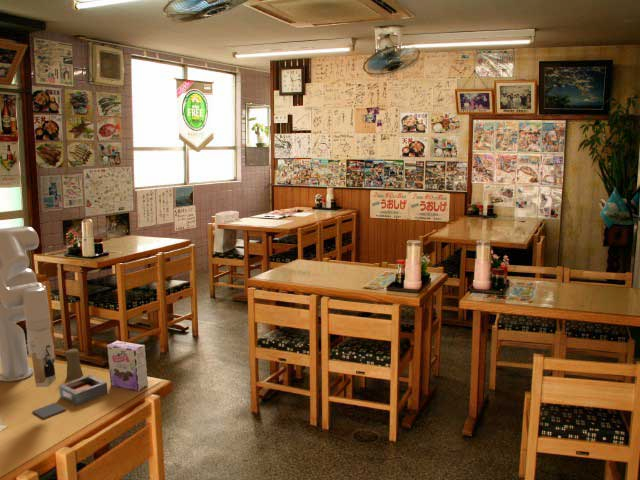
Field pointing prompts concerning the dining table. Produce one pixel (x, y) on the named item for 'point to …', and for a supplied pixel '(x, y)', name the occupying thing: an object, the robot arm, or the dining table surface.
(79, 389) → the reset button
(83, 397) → the box
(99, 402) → the dining table surface
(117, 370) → the candy box
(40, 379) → the skincare box
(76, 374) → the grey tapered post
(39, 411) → the coaster
